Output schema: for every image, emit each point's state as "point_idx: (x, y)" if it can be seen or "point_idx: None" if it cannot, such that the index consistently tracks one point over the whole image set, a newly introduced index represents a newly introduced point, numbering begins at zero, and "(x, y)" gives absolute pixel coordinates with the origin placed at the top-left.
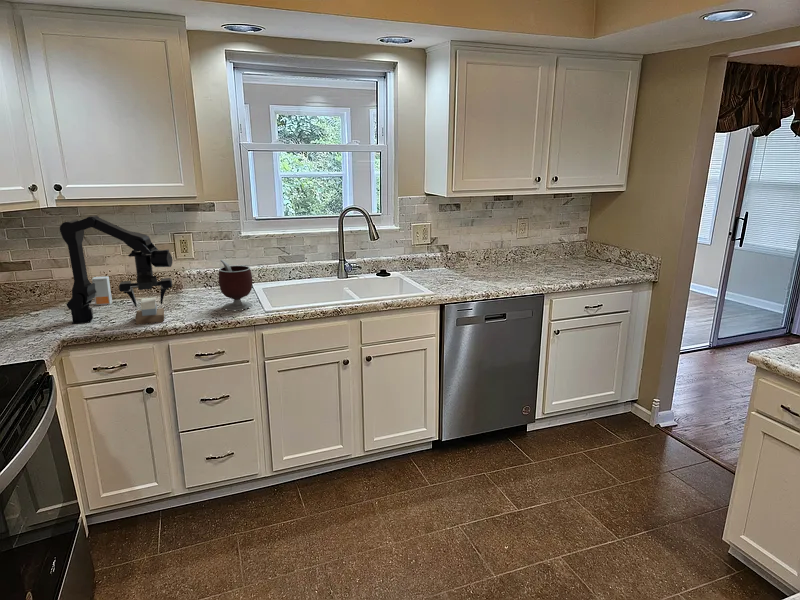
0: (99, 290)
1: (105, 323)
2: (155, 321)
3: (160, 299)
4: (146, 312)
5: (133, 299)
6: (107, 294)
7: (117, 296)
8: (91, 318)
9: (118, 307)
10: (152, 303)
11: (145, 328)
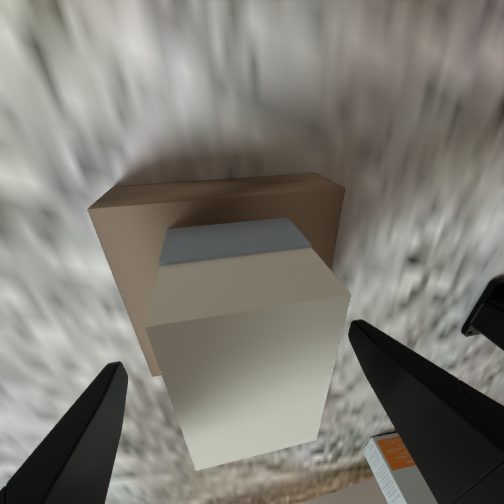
0: (432, 496)
1: (449, 252)
2: (179, 185)
3: (87, 425)
4: (257, 234)
5: (440, 384)
6: (398, 479)
7: (342, 478)
8: (491, 304)
9: (355, 418)
10: (184, 310)
11: (245, 15)
